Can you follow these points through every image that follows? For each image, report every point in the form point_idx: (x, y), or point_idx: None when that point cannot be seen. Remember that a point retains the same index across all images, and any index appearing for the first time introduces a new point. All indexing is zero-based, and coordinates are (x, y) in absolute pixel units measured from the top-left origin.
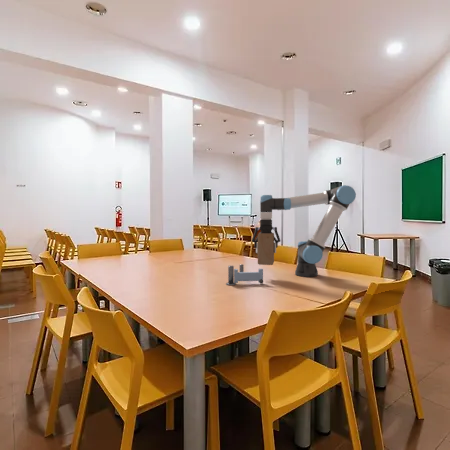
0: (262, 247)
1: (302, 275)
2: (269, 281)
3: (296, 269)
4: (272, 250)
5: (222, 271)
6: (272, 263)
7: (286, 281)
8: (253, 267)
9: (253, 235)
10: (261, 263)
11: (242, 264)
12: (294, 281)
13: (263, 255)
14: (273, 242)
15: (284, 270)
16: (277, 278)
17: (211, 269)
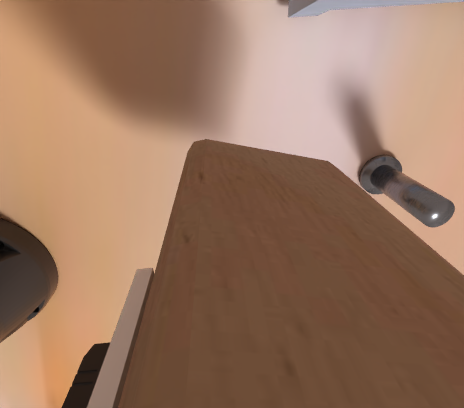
0: (387, 253)
1: (3, 224)
2: (226, 83)
3: (32, 283)
4: (189, 203)
5: None
6: (198, 141)
7: (108, 82)
8: None
9: None
10: (305, 157)
11: (428, 220)
12: (50, 81)
13: (313, 185)
14: (134, 356)
15: None
16: (165, 173)
17: None
